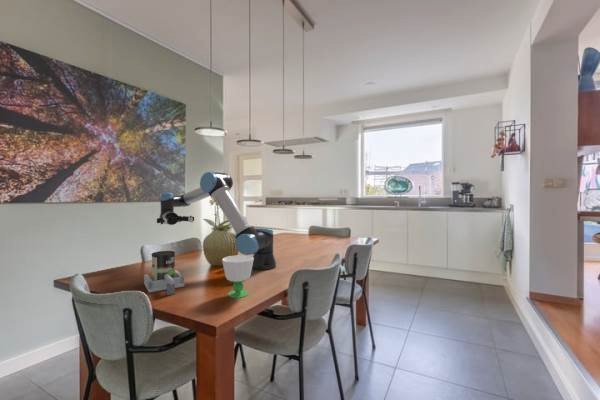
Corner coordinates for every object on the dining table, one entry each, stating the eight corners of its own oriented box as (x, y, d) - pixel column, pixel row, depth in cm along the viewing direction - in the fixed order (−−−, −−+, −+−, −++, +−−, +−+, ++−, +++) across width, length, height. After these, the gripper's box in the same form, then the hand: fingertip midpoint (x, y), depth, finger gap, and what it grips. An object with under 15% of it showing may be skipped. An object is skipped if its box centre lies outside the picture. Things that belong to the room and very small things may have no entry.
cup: (224, 301, 121) (224, 263, 120) (219, 291, 133) (219, 256, 133) (257, 297, 126) (257, 260, 126) (249, 287, 139) (249, 254, 138)
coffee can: (179, 279, 146) (179, 251, 145) (166, 286, 136) (165, 255, 135) (161, 278, 148) (161, 250, 148) (146, 284, 138) (146, 254, 137)
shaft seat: (144, 283, 144) (143, 269, 143) (176, 278, 152) (176, 265, 152) (152, 298, 124) (152, 282, 124) (189, 291, 133) (188, 276, 133)
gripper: (191, 222, 187) (202, 225, 170) (148, 225, 173) (155, 229, 156) (191, 211, 187) (202, 212, 170) (147, 213, 173) (154, 215, 155)
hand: (179, 220), depth 163 cm, fingers open, 13 cm apart
